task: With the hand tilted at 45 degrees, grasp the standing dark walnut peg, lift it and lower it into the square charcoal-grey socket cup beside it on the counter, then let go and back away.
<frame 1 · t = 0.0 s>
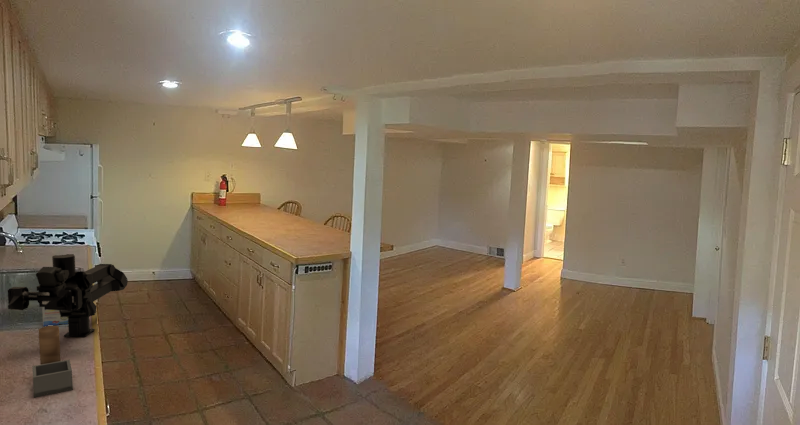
hand: (26, 307, 140), 17 cm above the counter, tool horizontal, fingers open, 9 cm apart
socket cup: (52, 387, 131), on the counter
walnut peg: (51, 376, 137), on the counter
medicine box: (57, 324, 176), on the counter
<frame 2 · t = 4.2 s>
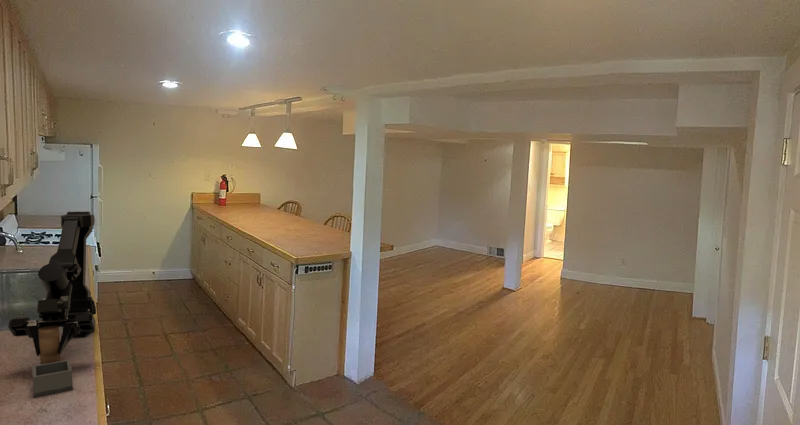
hand: (48, 354, 134), 7 cm above the counter, tool tilted 45°, fingers closed on walnut peg, 4 cm apart
walnut peg: (51, 376, 137), on the counter, touching gripper
everything else where it was.
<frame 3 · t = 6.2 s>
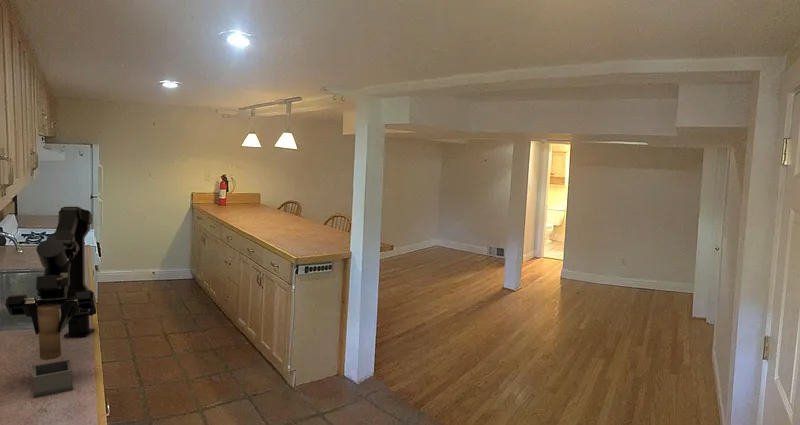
hand: (48, 332, 129), 14 cm above the counter, tool tilted 45°, fingers closed on walnut peg, 4 cm apart
walnut peg: (50, 356, 131), point 7 cm above the counter, touching gripper
everything else where it was.
when the fingers open (9 cm above the counter, at t = 8.1 s): walnut peg drops 1 cm, resting on socket cup.
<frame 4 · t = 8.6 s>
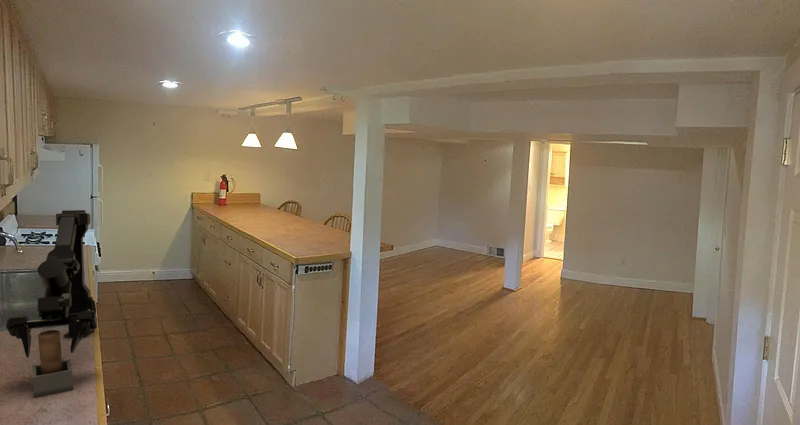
hand: (49, 354, 128), 9 cm above the counter, tool tilted 45°, fingers open, 9 cm apart
walnut peg: (52, 383, 131), point 1 cm above the counter, touching socket cup
everything else where it was.
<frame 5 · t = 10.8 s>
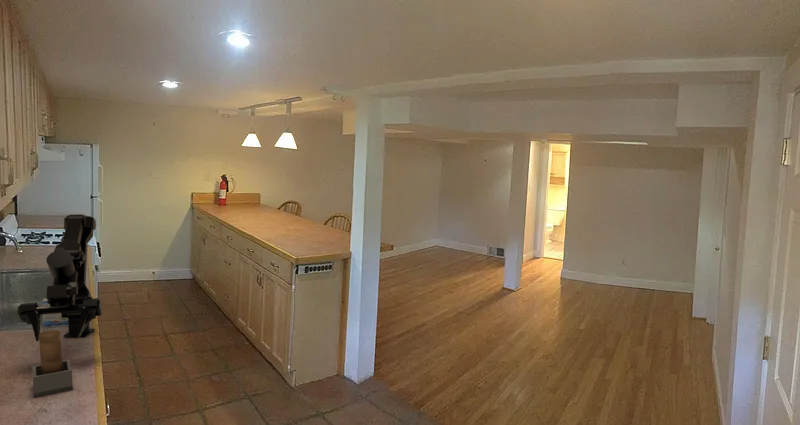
hand: (57, 338, 138), 9 cm above the counter, tool tilted 45°, fingers open, 9 cm apart
nothing on the counter moved.
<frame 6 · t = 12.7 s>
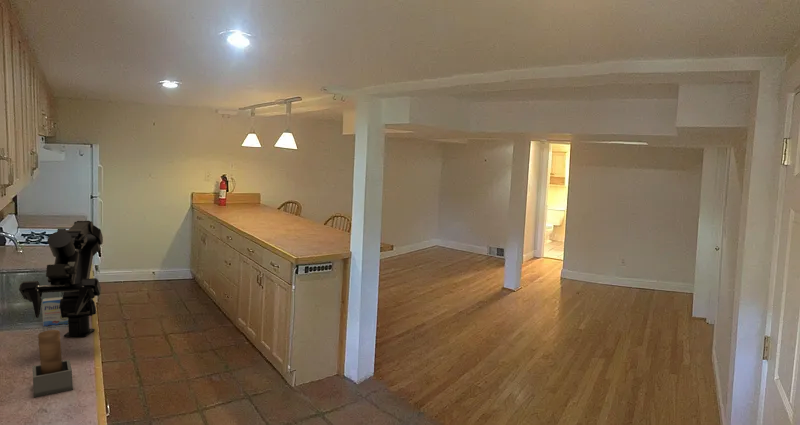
hand: (56, 315, 143), 14 cm above the counter, tool tilted 45°, fingers open, 9 cm apart
nothing on the counter moved.
at the end: walnut peg 0.1 cm off-centre on the socket cup, point 1.0 cm above the socket cup's base; walnut peg tilted 1°; the gripper is holding nothing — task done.
